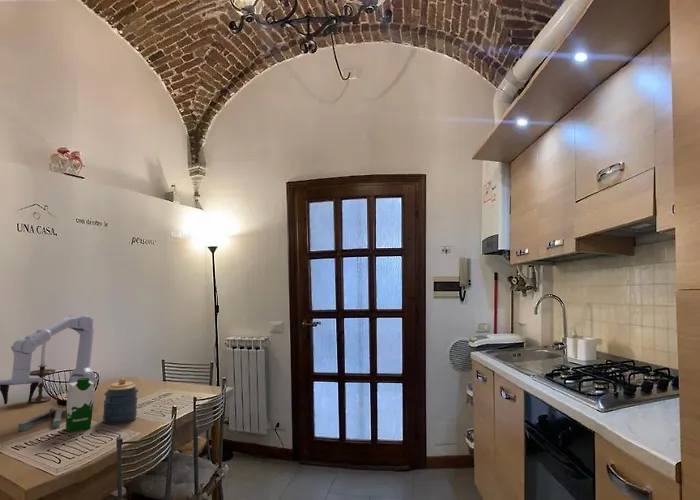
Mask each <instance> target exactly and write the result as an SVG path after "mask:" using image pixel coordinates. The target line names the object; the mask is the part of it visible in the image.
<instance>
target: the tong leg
mask: <svg viewBox="0 0 700 500" xmlns="http://www.w3.org/2000/svg"><path fill="white" fill-rule="evenodd" d="M51 415H52V412H49V411H46V412H44V413H42V414H39V415H37V416H33V417H32V418H30V419H28V420H24V421H22V422H20V423H18V425H17V432H18V431H20V432H21V431H22V432H24V431H26V430H28V429H31V428H32V427H34V426H38V425H39V424H41V423H43V422H46V421H47V420H50V419H52V417H51Z"/></svg>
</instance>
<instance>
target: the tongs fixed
mask: <svg viewBox="0 0 700 500" xmlns="http://www.w3.org/2000/svg"><path fill="white" fill-rule="evenodd" d="M48 412H52V415H51V418H53V423H52V429H56V428H57V429H58V427H59V428H60V427H61V420H62V416H63V408H57V409H55V408H54V407H52V408H50V409H49V410H48Z"/></svg>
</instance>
